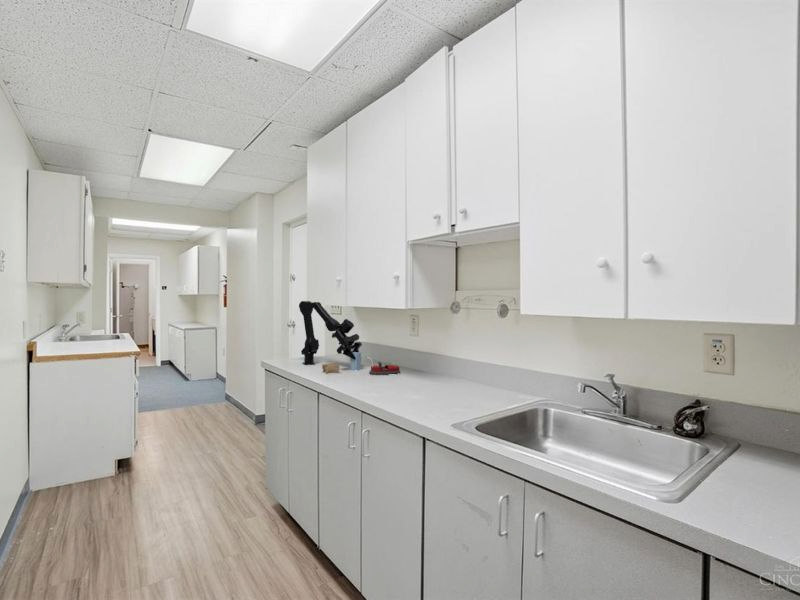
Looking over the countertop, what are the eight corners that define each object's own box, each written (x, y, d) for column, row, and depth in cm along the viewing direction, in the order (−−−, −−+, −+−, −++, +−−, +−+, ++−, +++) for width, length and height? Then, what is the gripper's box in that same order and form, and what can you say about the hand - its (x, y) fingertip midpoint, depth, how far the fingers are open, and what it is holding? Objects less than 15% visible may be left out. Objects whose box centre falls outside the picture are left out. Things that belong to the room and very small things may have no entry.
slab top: (322, 368, 236) (322, 364, 236) (333, 367, 240) (333, 363, 240) (328, 370, 230) (328, 365, 230) (339, 369, 235) (339, 365, 235)
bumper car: (402, 374, 235) (402, 356, 235) (367, 376, 228) (368, 357, 228) (396, 371, 244) (397, 354, 244) (363, 373, 237) (363, 355, 237)
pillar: (350, 369, 245) (350, 352, 245) (354, 368, 249) (354, 352, 249) (356, 370, 243) (356, 353, 243) (360, 369, 247) (361, 352, 247)
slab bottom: (322, 372, 237) (323, 368, 237) (334, 372, 240) (335, 367, 240) (326, 374, 231) (326, 370, 231) (338, 374, 234) (338, 369, 234)
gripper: (341, 330, 240) (357, 351, 235) (359, 328, 256) (374, 348, 251) (330, 343, 243) (345, 364, 238) (348, 340, 260) (363, 360, 255)
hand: (357, 358), depth 246 cm, fingers open, 5 cm apart
